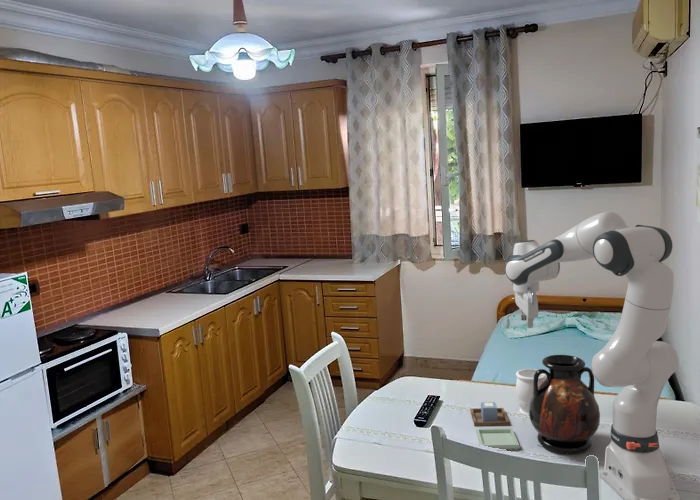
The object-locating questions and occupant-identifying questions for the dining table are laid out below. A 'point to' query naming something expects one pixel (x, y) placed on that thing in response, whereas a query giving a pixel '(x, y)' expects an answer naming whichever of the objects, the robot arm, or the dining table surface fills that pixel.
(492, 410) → the letter cube
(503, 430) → the sage tray
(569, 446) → the amphora vase
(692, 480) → the dining table surface
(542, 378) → the jar
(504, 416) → the walnut tray
